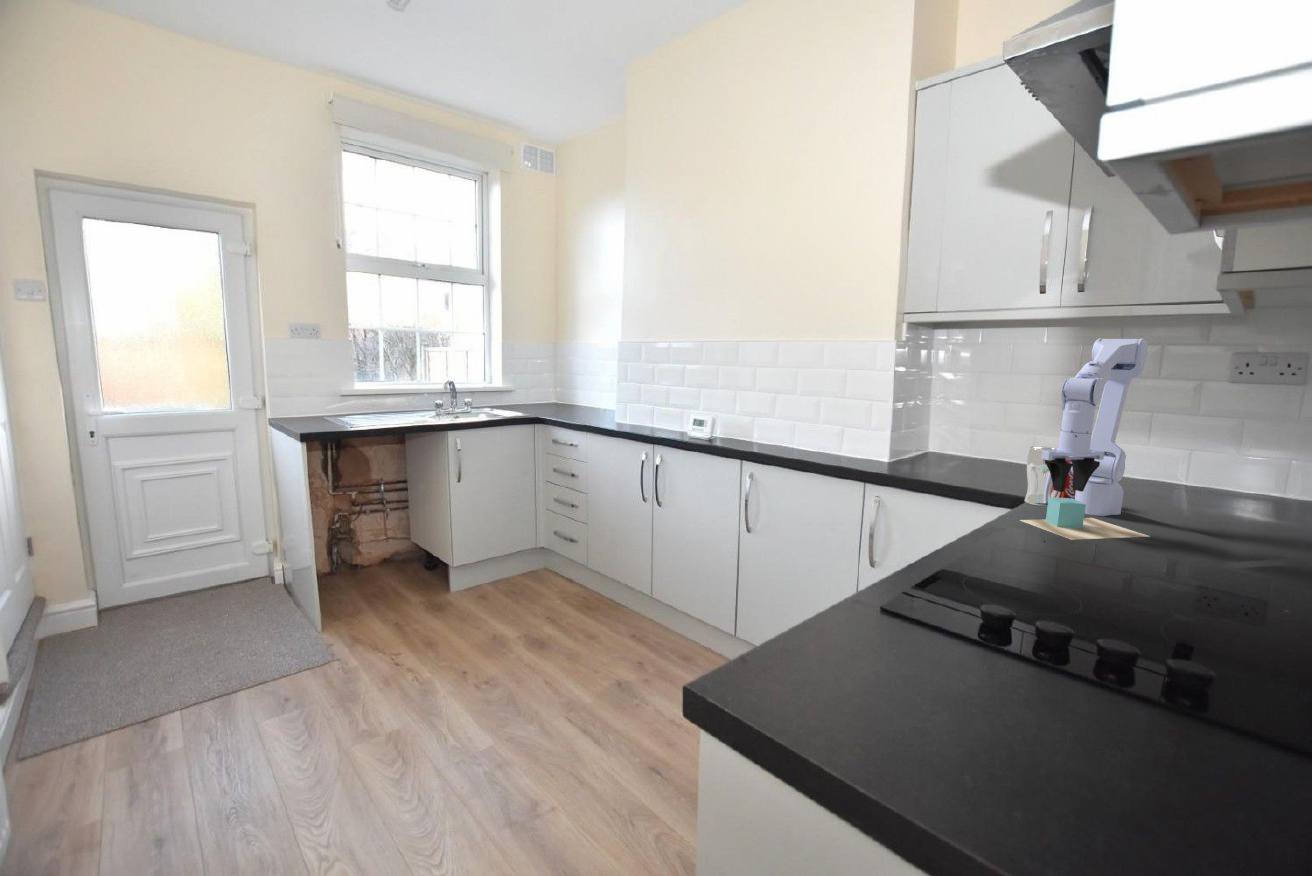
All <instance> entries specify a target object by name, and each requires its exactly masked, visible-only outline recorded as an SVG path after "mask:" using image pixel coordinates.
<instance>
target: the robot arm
mask: <svg viewBox="0 0 1312 876" xmlns="http://www.w3.org/2000/svg"><path fill="white" fill-rule="evenodd" d="M1148 347H1149V345H1148V341H1147V340H1146V339H1145V338H1101V337H1100V338H1097V339H1096V340H1095V341H1094V343H1093V346H1092V349H1091V360H1090V361H1089V362H1087V363H1085V364H1084V365H1083V366H1082V367H1081V369H1080V370H1079V371H1078V372H1077V373H1076V375H1075V376H1074V377H1069V379H1065V381H1064V382H1063V383H1062V388H1061V392H1060V397H1061V410H1062V411H1063V412H1062V419H1061V425H1060V426H1061V427H1060V434H1059V442H1058V447H1055V448H1056V449H1054V450H1043V451H1042V457H1041V459H1045V463H1046V465H1047V467H1048V469H1049V472H1050V475H1051V478H1052V484H1053V490H1055V491H1059V492H1063V491H1064V489H1065V485H1066V480H1067V476H1068V473H1069V471H1070V469H1071V472H1072V473H1073V490H1076V494H1075V500H1077V501H1080V502H1082V503H1084V504H1086V507H1085V514H1084V515H1091V516H1099V517H1100V516H1101V517H1107V516H1112V515H1113V516H1114V515H1115V516H1116V515H1117V516H1118V515H1121V512H1122V505H1123V500H1124V499H1123V498H1124V489H1123V487H1122V485H1121V484H1120V483H1119V482H1120V481H1122V479H1123V477H1124V474H1125V469H1126V459H1127V455H1126V452H1125V451H1124V449H1123V448H1121V447H1120V446H1119V445H1117V444H1116V439H1117V435H1118V430H1119V427H1120V423H1121V419H1122V414H1123V411H1124V407H1125V402H1126V398H1127V395H1128V391H1129V387H1130V385H1131V383H1132V381H1133V379H1135V378H1137V377H1140V376H1141V375H1142V373H1143V370H1144V368H1145V363H1146V361H1147V356H1148V349H1149V348H1148ZM1099 403H1100V404H1099ZM1098 404H1099V407H1098V410H1097V416H1096V420H1095V414H1096V407H1097V405H1098ZM1094 420H1095V421H1094ZM1094 422H1095V423H1094ZM1093 427H1094V428H1093ZM1065 460H1071V463H1067V461H1065Z"/></svg>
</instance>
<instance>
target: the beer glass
mask: <svg viewBox="0 0 1312 876" xmlns="http://www.w3.org/2000/svg"><path fill="white" fill-rule="evenodd" d="M1056 448H1057V447H1050V446H1040V445H1039V446H1037V445H1034V446H1033V445H1032V446H1030V447H1029V452H1028V455H1027V460H1026V461H1027V462H1026V479H1027V491H1026V494H1025V497H1024V503H1026V504H1029V505H1032V506H1033V505H1034V506H1038V507H1039V506H1040V507H1048V500H1049V497H1051V489H1052V486H1053V484H1052V478H1051V475H1050V472H1049V469H1048V467H1047V465H1046V463H1045V459H1041V457H1042V451H1043V450H1054V449H1056Z"/></svg>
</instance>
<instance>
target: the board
mask: <svg viewBox="0 0 1312 876" xmlns="http://www.w3.org/2000/svg"><path fill="white" fill-rule="evenodd" d="M1019 521H1020V522H1022V523H1025V524H1029V525H1031V526H1034V527H1035V528H1038V529H1042V530H1044V531H1047V532H1050V533H1053V534H1055V535H1056V536H1057V535H1058V536H1061V537H1063V538H1066V539H1069V540H1071V541H1073V540H1095V539H1097V540H1100V539H1101V540H1102V539H1125V538H1147V537H1148V538H1150V537H1151V536H1150V535H1147V534H1144V533H1141V532H1138V531H1135V530H1131V529H1129V528H1126V527H1122V526H1120V525H1115V524H1113V523H1109V522H1106V521H1103V520H1101V519H1097V518H1094V517H1084V521H1083V528H1082V529H1081V528H1066V527H1056V526H1055V525H1053V524H1051V523H1049V522H1048V521H1046V518H1045V519H1019Z"/></svg>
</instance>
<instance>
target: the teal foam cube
mask: <svg viewBox="0 0 1312 876" xmlns="http://www.w3.org/2000/svg"><path fill="white" fill-rule="evenodd" d="M1046 507H1047V508H1046V509H1047V510H1046V515H1045V516H1046V517H1045V519H1046V521H1048V522H1049V523H1051V524H1053V525H1055V526H1056V527H1066V528H1081V529H1082V528H1083V521H1084V518H1085V515H1086V514H1085V507H1086V504H1084V503H1082V502H1080V501H1077V500H1075V499H1072V498H1055V497H1049V500H1048V506H1046Z"/></svg>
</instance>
